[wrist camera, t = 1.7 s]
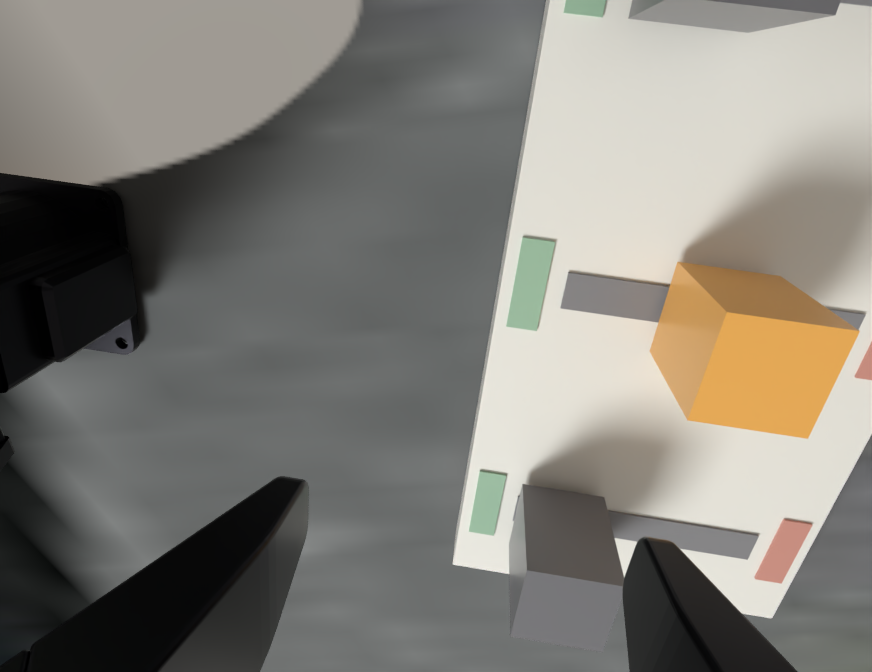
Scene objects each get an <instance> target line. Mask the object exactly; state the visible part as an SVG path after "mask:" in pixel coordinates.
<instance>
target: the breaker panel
mask: <svg viewBox="0 0 872 672" xmlns="http://www.w3.org/2000/svg"><path fill="white" fill-rule="evenodd" d="M631 4H632V0H546V4H545V10H544V16H543V22H542V28H541V34H540V40H539V46H538V51H537V57H536V63H535V69H534V75H533V81H532V87H531V93H530V99H529V104H528V110H527V116H526V122H525V128H524V134H523V140H522V146H521V151H520V157H519V163H518V169H517V175H516V181H515V187H514V193H513V199H512V204H511V210H510V216H509V222H508V228H507V234H506V240H505V246H504V251H503V257H502V263H501V269H500V275H499V281H498V287H497V293H496V299H495V304H494V310H493V316H492V322H491V328H490V334H489V340H488V346H487V351H486V357H485V363H484V369H483V375H482V381H481V387H480V393H479V399H478V404H477V410H476V416H475V422H474V428H473V434H472V440H471V446H470V451H469V457H468V463H467V469H466V475H465V481H464V487H463V493H462V499H461V504H460V510H459V516H458V522H457V528H456V537H455V547H454V556H453V565H459V566H465V567H471V568H477V569H483V570H489V571H494V572H500V573H506V574H509V541H510V537H511V532H512V528H513V523H514V519H515V515H516V510H517V506H518V501H519V497H520V493H521V488H522V484H527V485H533V486H539V487H545V488H552V489H558V490H564V491H570V492H576V493H583V494H589V495H595V496H601V497H604V498H605V502H606V506H607V510H608V514H609V518H610V522H611V526H612V530H613V534H614V538H615V543H616V547H617V551H618V555H619V559H620V563H621V567H622V571H623V575H624V577H625V574H626V571H627V568H628V566H629V563H630V560H631V557H632V555H633V552H634V549H635V546H636V544H637V542H638V540H639V539H640V538H642V537H645V536H647V537H653V538H659V539H665V540H669V541H672V542H673V543H674V544H676V545H677V546H678V547H679V548H680V549H681V550H682V551H683V553H684V554H685V555H686V556H687V557H688V558H689V559H690V560H691V561H692V562H693V563H694V564H695V565H696V566H697V567H698V568H699V569H700V570H701V571H702V572H703V573H704V574H705V576H706V577H707V578H708V579H709V580H710V581H711V582H712V583H713V584H714V585H715V586H716V587H717V588H718V589H719V590H720V591H721V592H722V593H723V594H724V595H725V596H726V597H727V598H728V600H729V601H730V602H731V603H732V604H733V605H734V606H735V607H736V608H737V609H738V610H739V611H740V612H741V613H742V614H748V615H754V616H760V617H766V618H772V617H773V615H774V614H775V612H776V610H777V608H778V606H779V604H780V602H781V601H782V599H783V597H784V595H785V593H786V591H787V589H788V588H789V586H790V584H791V582H792V580H793V578H794V577H795V575H796V573H797V571H798V569H799V567H800V565H801V564H802V562H803V560H804V558H805V556H806V554H807V553H808V551H809V549H810V547H811V545H812V543H813V541H814V540H815V538H816V536H817V534H818V532H819V530H820V529H821V527H822V525H823V523H824V521H825V519H826V517H827V516H828V514H829V512H830V510H831V508H832V506H833V505H834V503H835V501H836V499H837V497H838V495H839V493H840V492H841V490H842V488H843V486H844V484H845V482H846V481H847V479H848V477H849V475H850V473H851V471H852V469H853V468H854V466H855V464H856V462H857V460H858V458H859V456H860V455H861V453H862V451H863V449H864V447H865V445H866V444H867V442H868V440H869V438H870V436H871V434H872V0H841V1H840V4H839V7H838V10H837V12H836V15H834V16H829V17H824V18H819V19H814V20H809V21H805V22H800V23H795V24H790V25H785V26H780V27H775V28H770V29H765V30H760V31H755V32H750V33H745V32H737V31H728V30H720V29H711V28H703V27H694V26H686V25H677V24H669V23H660V22H652V21H643V20H635V19H628V17H629V13H630V8H631ZM677 262H683V263H691V264H698V265H705V266H712V267H719V268H727V269H734V270H741V271H748V272H755V273H763V274H770V275H777V276H781V277H783V278H784V279H786V280H787V281H788V282H790V283H791V284H793V285H794V286H796V287H797V288H799V289H800V290H801V291H803V292H804V293H806V294H807V295H809V296H810V297H812V298H813V299H814V300H816V301H817V302H819V303H820V304H822V305H823V306H825V307H826V308H827V309H829V310H830V311H832V312H833V313H835V314H836V315H837V316H839V317H840V318H842V319H843V320H845V321H846V322H848V323H849V324H850V325H852V326H853V327H855V328H856V329H858V330H859V331H860V332H859V335H858V337H857V339H856V341H855V343H854V345H853V347H852V349H851V351H850V353H849V355H848V357H847V359H846V361H845V363H844V365H843V368H842V370H841V372H840V374H839V376H838V378H837V380H836V382H835V384H834V386H833V388H832V390H831V392H830V394H829V396H828V399H827V401H826V403H825V405H824V407H823V409H822V411H821V413H820V415H819V417H818V419H817V421H816V423H815V425H814V427H813V430H812V432H811V434H810V436H809V438H808V439H806V438H799V437H793V436H786V435H780V434H773V433H767V432H760V431H754V430H747V429H741V428H734V427H727V426H721V425H714V424H708V423H701V422H695V421H688V420H687V419H686V417H685V415H684V413H683V411H682V410H681V408H680V406H679V404H678V402H677V401H676V399H675V397H674V395H673V393H672V391H671V390H670V388H669V386H668V384H667V382H666V381H665V379H664V377H663V375H662V373H661V371H660V370H659V368H658V366H657V364H656V362H655V360H654V359H653V357H652V355H651V353H650V348H651V345H652V342H653V338H654V335H655V332H656V329H657V326H658V322H659V319H660V316H661V313H662V309H663V306H664V303H665V300H666V297H667V293H668V290H669V287H670V284H671V281H672V277H673V274H674V271H675V268H676V264H677Z"/></svg>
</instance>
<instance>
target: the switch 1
mask: <svg viewBox="0 0 872 672" xmlns="http://www.w3.org/2000/svg"><path fill="white" fill-rule="evenodd" d="M623 581H624V575H623V571H622V567H621V563H620V559H619V555H618V551H617V547H616V543H615V538H614V534H613V530H612V526H611V522H610V518H609V514H608V510H607V506H606V502H605V498H604V497H601V496H595V495H589V494H583V493H576V492H570V491H564V490H558V489H552V488H545V487H539V486H533V485H527V484H522V488H521V493H520V497H519V501H518V506H517V510H516V515H515V519H514V523H513V528H512V532H511V537H510V541H509V588H510V637H516V638H522V639H527V640H533V641H539V642H545V643H550V644H556V645H562V646H567V647H573V648H579V649H585V650H590V651H596V652H602V653H603V650H604V647H605V645H606V642H607V639H608V636H609V634H610V631H611V628H612V625H613V623H614V620H615V617H616V615H617V612H618V609H619V606H620V604H621V601H622V598H623V595H622V589H623Z"/></svg>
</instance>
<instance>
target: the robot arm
mask: <svg viewBox="0 0 872 672" xmlns="http://www.w3.org/2000/svg"><path fill="white" fill-rule="evenodd" d="M102 198H104V199H105V200H106V201H107V202H108V205H109V206H108V208H106V207H105V206H104V205H103V203H102ZM136 313H137V304H136V296H135V288H134V280H133V272H132V264H131V257H130V253H129V251H128V246H127V238H126V230H125V222H124V214H123V207H122V202H121V199H120V197H119V196H118V194H117V193H116V192H115V191H113V190H112V189H109V188H104V187H97V186H90V185H83V184H75V183H68V182H61V181H53V180H47V179H40V178H32V177H25V176H18V175H11V174H4V173H0V393H6V392H7V391H9V390H10V389H12V388H14V387H15V386H17V385H18V384H20V383H22V382H23V381H25V380H26V379H28V378H30V377H31V376H33V375H35V374H36V373H38V372H39V371H41V370H43V369H44V368H46V367H47V366H49V365H51V364H52V363H54V362H62V361H65V360H66V359H68V358H69V357H71V356H72V355H74V354H76V353H77V352H79V351H80V350H82V349H83V348H84V349H91V350H97V351H104V352H110V353H117V354H129V353H131V352H133V351H134V350H135V349H137V348H138V346H139V344H140V339H139V331H138V323H137V316H136ZM122 338H124V339H125V340H126V341H127V343H128V344H125V343H124V342H123V340H122ZM14 452H15V451H14V448H13V446H12V444H11V441H10V439H9V437H8V436H4V434H3V432H2V430H1V427H0V471H1V470H2V468H3V467H4V466H5V464H6V463H7V462H8V460H9V459H10V458H11V456H12V455H13V454H14ZM308 501H309V487H308V483H307V482H306V481H305V480H303V479H297V478H291V477H285V476H280V477H277V478H275V479H274V480H272V481H271V482H269V483H268V484H266V485H265V486H263V487H262V488H260V489H259V490H257V491H256V492H255V493H253V494H252V495H250V496H249V497H247V498H246V499H244V500H243V501H241V502H240V503H238V504H237V505H235V506H234V507H233V508H231V509H230V510H228V511H227V512H225V513H224V514H222V515H221V516H219V517H218V518H216V519H215V520H214V521H212V522H211V523H209V524H208V525H206V526H205V527H203V528H202V529H200V530H199V531H197V532H196V533H195V534H193V535H192V536H190V537H189V538H187V539H186V540H184V541H183V542H181V543H180V544H178V545H177V546H176V547H174V548H173V549H171V550H170V551H168V552H167V553H165V554H164V555H162V556H161V557H159V558H158V559H157V560H155V561H154V562H152V563H151V564H149V565H148V566H146V567H145V568H143V569H142V570H140V571H139V572H137V573H136V574H135V575H133V576H132V577H130V578H129V579H127V580H126V581H124V582H123V583H121V584H120V585H118V586H117V587H116V588H114V589H113V590H111V591H110V592H108V593H107V594H105V595H104V596H102V597H101V598H99V599H98V600H97V601H95V602H94V603H92V604H91V605H89V606H88V607H86V608H85V609H83V610H82V611H80V612H79V613H78V614H76V615H75V616H73V617H72V618H70V619H69V620H67V621H66V622H64V623H63V624H61V625H60V626H58V627H57V628H56V629H54V630H53V631H51V632H50V633H48V634H47V635H45V636H44V637H42V638H41V639H39V640H38V641H37V642H35V643H34V644H33V645H32V647H31V650H30V651H29V650H23V651H21V652H20V653H19V654H17V655H16V656H14V657H13V658H11V659H10V660H8V661H7V662H5V663H4V664H2V665H1V666H0V672H260V670H261V668H262V666H263V663H264V661H265V658H266V656H267V654H268V651H269V649H270V646H271V643H272V640H273V637H274V634H275V632H276V629H277V626H278V623H279V620H280V617H281V613H282V610H283V607H284V604H285V601H286V598H287V595H288V592H289V589H290V586H291V582H292V579H293V576H294V573H295V570H296V567H297V564H298V561H299V558H300V555H301V551H302V548H303V545H304V542H305V538H306V534H307V528H308ZM622 595H623V607H624V617H625V628H626V638H627V648H628V659H629V669H630V672H797V671H796V670H795V668H794V667H793V666H792V665H791V664H790V663H789V662H788V661H787V660H786V659H785V658H784V657H783V656H782V655H781V654H780V653H779V652H778V651H777V650H776V649H775V648H774V647H773V646H772V644H771V643H770V642H769V641H768V640H767V639H766V638H765V637H764V636H763V635H762V634H761V633H760V632H759V631H758V630H757V629H756V628H755V627H754V626H753V625H752V624H751V623H750V621H749V620H748V619H747V618H746V617H745V616H744V615H743V614H742V613H741V612H740V611H739V610H738V609H737V608H736V607H735V606H734V605H733V604H732V603H731V602H730V601H729V600H728V598H727V597H726V596H725V595H724V594H723V593H722V592H721V591H720V590H719V589H718V588H717V587H716V586H715V585H714V584H713V583H712V582H711V581H710V580H709V579H708V578H707V577H706V576H705V574H704V573H703V572H702V571H701V570H700V569H699V568H698V567H697V566H696V565H695V564H694V563H693V562H692V561H691V560H690V559H689V558H688V557H687V556H686V555H685V554H684V553H683V551H682V550H681V549H680V548H679V547H678V546H677V545H676V544H674V543H673V542H672V541H669V540H665V539H659V538H653V537H647V536H645V537H642V538H640V539H639V540H638V542H637V544H636V546H635V549H634V552H633V555H632V557H631V560H630V563H629V566H628V568H627V571H626V574H625V577H624V581H623V589H622Z"/></svg>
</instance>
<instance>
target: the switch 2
mask: <svg viewBox="0 0 872 672" xmlns="http://www.w3.org/2000/svg"><path fill="white" fill-rule="evenodd" d="M840 1H841V0H632V4H631V8H630V13H629V17H628V19H635V20H643V21H652V22H660V23H669V24H677V25H686V26H694V27H703V28H711V29H720V30H728V31H737V32H745V33H750V32H755V31H760V30H765V29H770V28H775V27H780V26H785V25H790V24H795V23H800V22H805V21H809V20H814V19H819V18H824V17H829V16H834V15H836V12H837V10H838V7H839V4H840Z"/></svg>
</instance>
